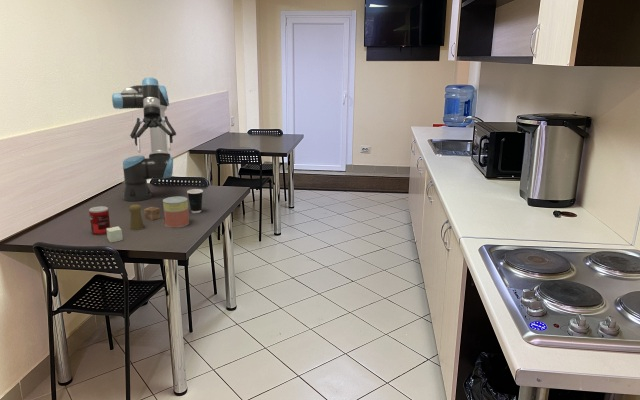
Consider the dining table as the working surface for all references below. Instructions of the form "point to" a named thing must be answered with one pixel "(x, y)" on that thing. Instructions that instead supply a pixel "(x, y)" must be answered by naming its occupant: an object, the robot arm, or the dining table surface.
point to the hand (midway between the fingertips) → (154, 150)
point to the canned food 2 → (176, 211)
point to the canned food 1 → (99, 219)
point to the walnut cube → (152, 213)
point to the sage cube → (114, 234)
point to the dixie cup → (195, 200)
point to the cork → (136, 217)
